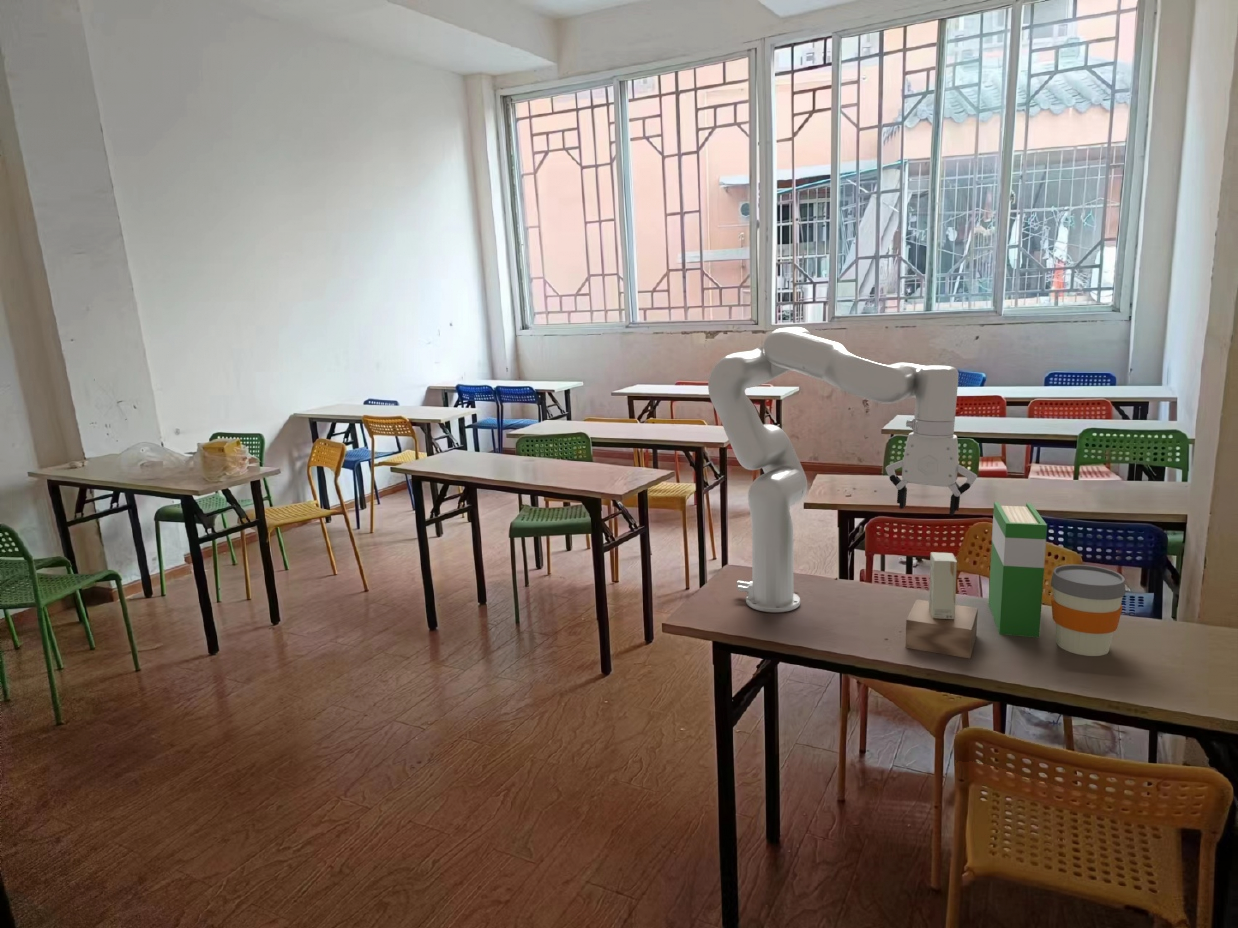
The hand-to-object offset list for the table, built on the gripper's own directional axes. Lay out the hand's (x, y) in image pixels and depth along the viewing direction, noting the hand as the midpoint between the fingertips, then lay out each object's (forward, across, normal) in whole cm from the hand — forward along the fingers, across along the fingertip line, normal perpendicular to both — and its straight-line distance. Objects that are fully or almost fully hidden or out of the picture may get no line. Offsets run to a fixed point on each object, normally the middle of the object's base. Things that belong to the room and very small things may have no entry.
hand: (927, 510), depth 157 cm
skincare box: (+21, +5, -3) cm, 22 cm away
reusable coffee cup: (+26, +30, +7) cm, 40 cm away
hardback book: (+26, +17, +15) cm, 35 cm away
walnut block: (+27, +5, -3) cm, 27 cm away
